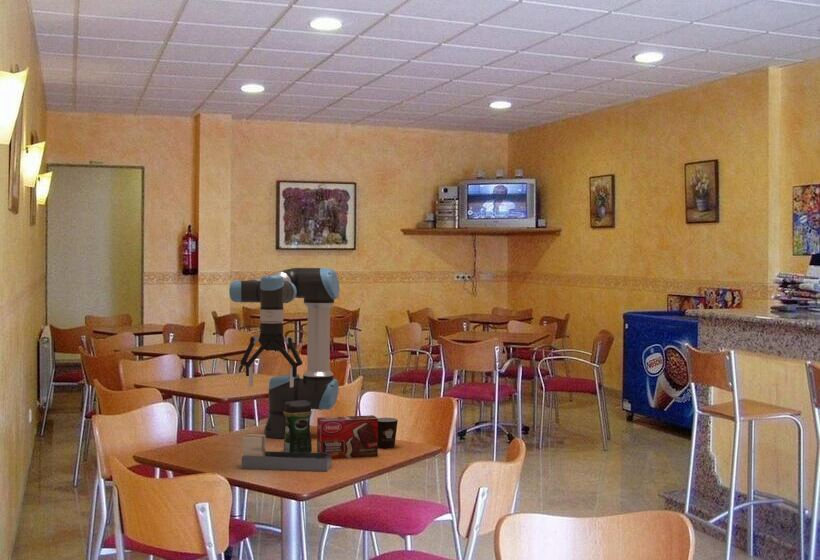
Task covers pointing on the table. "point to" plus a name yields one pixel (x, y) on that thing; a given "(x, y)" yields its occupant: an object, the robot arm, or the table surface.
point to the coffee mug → (387, 432)
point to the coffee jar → (297, 426)
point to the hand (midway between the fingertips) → (271, 386)
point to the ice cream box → (348, 436)
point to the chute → (289, 461)
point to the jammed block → (254, 445)
